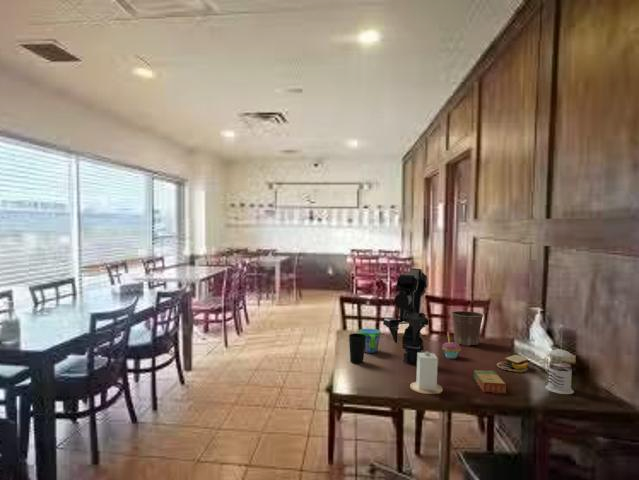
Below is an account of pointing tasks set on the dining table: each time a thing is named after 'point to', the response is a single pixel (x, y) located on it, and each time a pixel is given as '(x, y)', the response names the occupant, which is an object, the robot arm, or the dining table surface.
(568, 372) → the french press
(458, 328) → the plant pot
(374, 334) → the snack cup
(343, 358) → the dining table surface
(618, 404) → the dining table surface
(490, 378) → the carton
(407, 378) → the dining table surface
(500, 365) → the toy sandwich meal
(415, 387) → the cork mat
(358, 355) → the cup
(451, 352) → the cupcake
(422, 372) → the cover
